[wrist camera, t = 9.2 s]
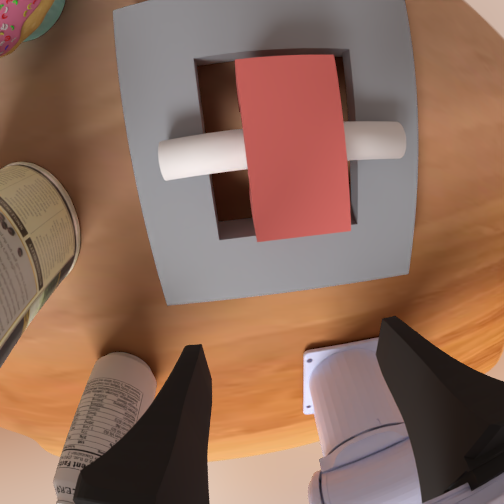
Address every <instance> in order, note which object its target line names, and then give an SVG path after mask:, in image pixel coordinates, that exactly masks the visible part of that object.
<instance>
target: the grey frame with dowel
mask: <svg viewBox="0 0 504 504" xmlns="http://www.w3.org/2000/svg"><path fill="white" fill-rule="evenodd" d="M113 21H114V35H115V47H116V57H117V67H118V76H119V84H120V92H121V99H122V106H123V113H124V119H125V126H126V132H127V138H128V143H129V149H130V155H131V160H132V165H133V170H134V175H135V180H136V185H137V190H138V194H139V199H140V204H141V208H142V212H143V217H144V221H145V225H146V229H147V233H148V237H149V241H150V245H151V249H152V253H153V257H154V261H155V264H156V268H157V272H158V275H159V279H160V282H161V286H162V289H163V293H164V296H165V300H166V303H167V306H168V305H179V304H189V303H199V302H209V301H218V300H227V299H236V298H245V297H254V296H262V295H270V294H278V293H286V292H293V291H301V290H308V289H315V288H322V287H329V286H336V285H343V284H350V283H356V282H363V281H369V280H375V279H381V278H388V277H394V276H399V275H405V274H409V267H410V260H411V252H412V243H413V234H414V224H415V213H416V199H417V180H418V109H417V91H416V78H415V67H414V57H413V49H412V41H411V34H410V27H409V21H408V15H407V10H406V4H405V0H148V1H144V2H141V3H137V4H133V5H130V6H126V7H123V8H120V9H117V10H113ZM284 55H334V56H338V57H343V64H344V74H345V84H346V95H347V108H348V121H347V122H343V123H344V132H345V142H346V153H347V161H348V160H350V171H351V207H350V214H351V231H347V232H339V233H330V234H322V235H313V236H305V237H297V238H288V239H280V240H272V241H264V242H257V238H256V233H255V228H254V222H253V218H245V219H237V220H229V221H221V222H218V215H217V209H216V203H215V196H214V189H213V183H212V176H211V174H214V173H221V172H229V171H237V170H245V169H248V168H247V160H246V152H245V144H244V136H243V129H235V130H227V131H220V132H213V133H206V134H205V127H204V119H203V112H202V104H201V96H200V88H199V80H198V72H197V66H201V65H208V64H215V63H222V62H230V61H235V59H244V58H255V57H267V56H284Z"/></svg>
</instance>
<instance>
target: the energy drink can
mask: <svg viewBox="0 0 504 504" xmlns="http://www.w3.org/2000/svg"><path fill="white" fill-rule="evenodd" d="M156 387H157V383H156V379H155V377H154V375H153V374H152V371H151V369H150V367H149V366H148V365H147V364H146V363H145V362H144V361H143V360H141V359H140V358H138V357H136V356H134V355H132V354H129V353H125V352H112V353H109V354H108V355H106V356H103V357H101V358H99V359H98V360H97V361H96V363H95V365H94V368H93V370H92V372H91V375H90V377H89V380H88V382H87V385H86V387H85V390H84V392H83V395H82V398H81V400H80V403H79V405H78V408H77V411H76V413H75V416H74V419H73V422H72V424H71V427H70V430H69V433H68V436H67V439H66V442H65V445H64V448H63V451H62V454H61V457H60V460H59V463H58V467H57V470H56V474H55V476H54V480H53V484H54V488H55V490H56V494H57V498H58V501H57V502H56V504H75V503H74V501H73V496H74V491H75V487H76V483H77V479H78V476H79V473H80V471H81V469H83V468H85V467H86V466H88V465H89V464H90V463H92V462H93V461H95V460H96V459H98V458H99V457H100V456H102V455H103V454H104V453H105V452H107V451H108V450H109V449H110V448H111V447H112V446H113V445H115V444H116V443H117V442H118V441H119V440H120V439H121V438H122V437H123V436H124V435H125V434H126V433H127V432H128V431H129V430H130V429H131V428H132V427H133V426H134V425H135V424H136V422H137V421H138V420H139V419H140V418H141V416H142V415H143V414H144V413H145V412H146V410H147V409H148V408H149V406H150V405H151V404H152V402H153V401H154V396H155V391H156Z"/></svg>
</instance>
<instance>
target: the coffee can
mask: <svg viewBox="0 0 504 504" xmlns="http://www.w3.org/2000/svg"><path fill="white" fill-rule="evenodd" d="M79 250H80V227H79V222H78V217H77V214H76V211H75V208H74V205H73V203H72V201H71V198H70V196H69V195H68V193H67V192H66V190H65V189H64V188H63V186H62V184H61V183H60V182H59V181H58V180H57V179H56V178H55V177H54V176H53V175H52V174H51V173H50V172H48V171H47V170H45V169H44V168H42V167H40V166H38V165H35V164H33V163H27V162H15V163H11V164H8V165H6V166H4V167H3V168H1V169H0V368H1V366H2V365H3V363H4V362H5V360H6V358H7V357H8V355H9V354H10V352H11V350H12V349H13V347H14V346H15V344H16V343H17V341H18V340H19V338H20V337H21V335H22V334H23V332H24V331H25V330H26V328H27V327H28V325H29V324H30V322H31V321H32V320H33V318H34V317H35V315H36V314H37V313H38V311H39V310H40V309H41V307H42V306H43V305H44V303H45V302H46V301H47V300H48V298H49V297H50V295H51V294H52V293H53V292H54V290H55V289H56V288H57V287H58V285H59V284H60V283H61V281H62V280H63V279H64V278H65V277H66V276H67V275H68V274H69V273H70V271H71V270H72V269H73V267H74V265H75V263H76V260H77V258H78V254H79Z"/></svg>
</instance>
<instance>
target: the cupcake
mask: <svg viewBox="0 0 504 504" xmlns="http://www.w3.org/2000/svg"><path fill="white" fill-rule="evenodd" d="M64 4H65V0H0V58H1V57H3V56H5V55H8V54H10V53H12V52H13V51H15V49H16V48H17V47H18V46H19V45H20V44H21V43H22V42H25V41H30V40H33V39H36V38H38V37H40V36H41V35H43V34H44V33H46V32H47V31H48V30H49V29H50V28H51V27H52V26H53V25H54V24H55V22H56V21H57V19H58V18H59V16H60V14H61V12H62V10H63V7H64Z"/></svg>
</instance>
